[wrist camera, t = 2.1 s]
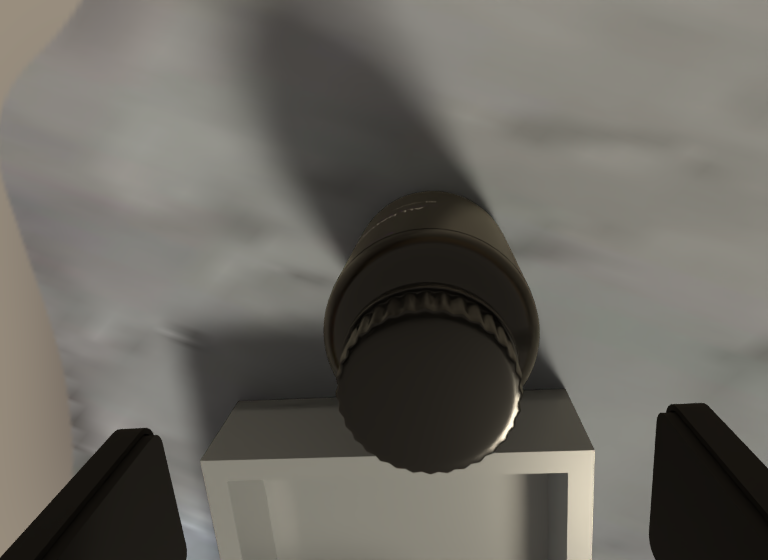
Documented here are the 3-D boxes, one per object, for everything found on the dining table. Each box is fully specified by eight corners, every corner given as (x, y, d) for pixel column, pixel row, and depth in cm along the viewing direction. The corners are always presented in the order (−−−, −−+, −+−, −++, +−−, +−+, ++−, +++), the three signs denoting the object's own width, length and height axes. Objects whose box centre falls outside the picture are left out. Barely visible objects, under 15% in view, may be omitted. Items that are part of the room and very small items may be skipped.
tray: (565, 388, 27) (594, 450, 22) (562, 632, 31) (586, 728, 26) (238, 401, 28) (200, 461, 24) (279, 632, 33) (254, 721, 28)
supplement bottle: (390, 163, 24) (356, 216, 13) (534, 225, 25) (624, 329, 13) (333, 300, 26) (261, 450, 15) (467, 356, 27) (496, 544, 15)
